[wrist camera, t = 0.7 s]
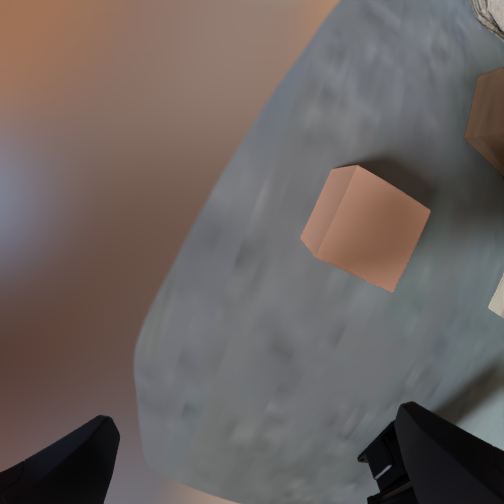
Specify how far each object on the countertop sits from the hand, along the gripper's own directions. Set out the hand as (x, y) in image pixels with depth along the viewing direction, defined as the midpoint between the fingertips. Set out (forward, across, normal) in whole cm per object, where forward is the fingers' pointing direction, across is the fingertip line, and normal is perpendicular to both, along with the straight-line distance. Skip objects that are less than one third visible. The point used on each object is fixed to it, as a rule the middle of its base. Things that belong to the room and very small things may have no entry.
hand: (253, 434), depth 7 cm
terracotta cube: (+13, -6, -4) cm, 15 cm away
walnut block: (+13, -22, -12) cm, 28 cm away
